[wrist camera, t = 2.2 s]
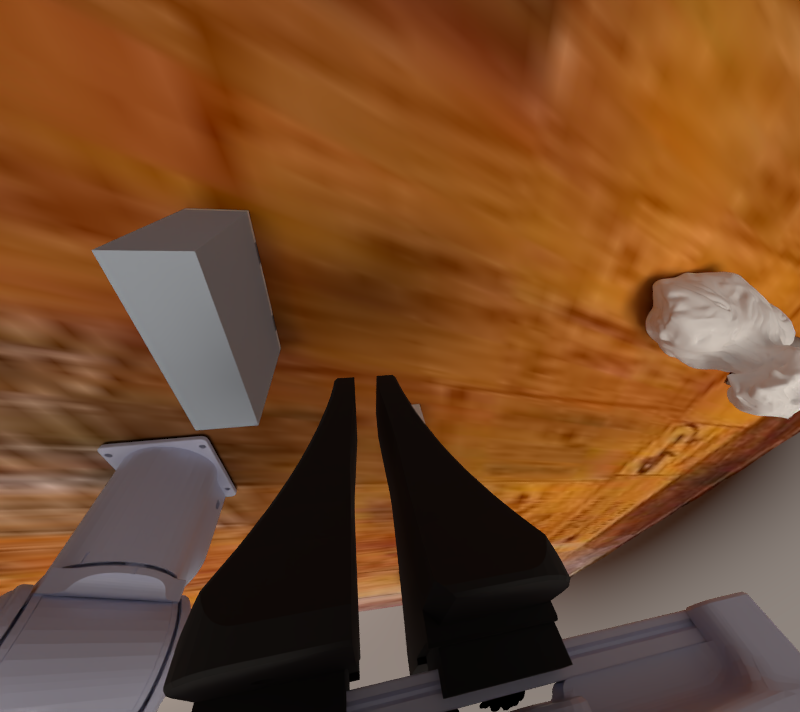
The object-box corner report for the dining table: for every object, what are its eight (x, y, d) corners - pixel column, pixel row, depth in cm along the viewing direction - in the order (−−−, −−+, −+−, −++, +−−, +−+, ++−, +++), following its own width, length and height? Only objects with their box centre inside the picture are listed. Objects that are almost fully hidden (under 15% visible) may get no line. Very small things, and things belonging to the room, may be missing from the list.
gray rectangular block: (280, 348, 20) (258, 425, 15) (235, 350, 20) (195, 430, 14) (248, 210, 15) (194, 251, 10) (185, 208, 15) (91, 250, 9)
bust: (601, 287, 25) (628, 420, 21) (715, 228, 18) (780, 413, 14) (696, 305, 28) (732, 424, 25) (826, 261, 21) (898, 419, 18)
